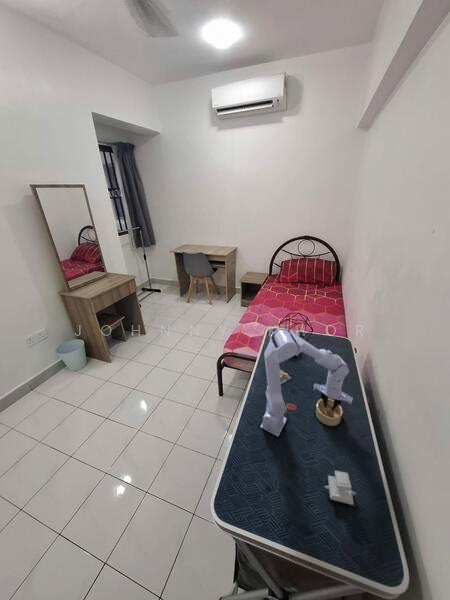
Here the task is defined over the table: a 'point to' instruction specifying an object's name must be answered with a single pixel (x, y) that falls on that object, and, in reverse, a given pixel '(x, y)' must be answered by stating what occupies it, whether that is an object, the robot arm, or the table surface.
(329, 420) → the yellow round bowl
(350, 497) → the stamp
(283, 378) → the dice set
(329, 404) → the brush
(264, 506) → the table surface
